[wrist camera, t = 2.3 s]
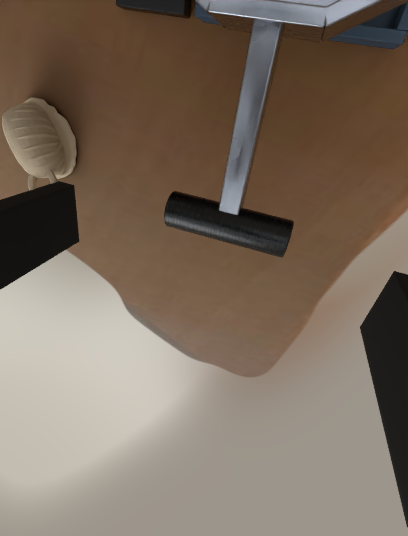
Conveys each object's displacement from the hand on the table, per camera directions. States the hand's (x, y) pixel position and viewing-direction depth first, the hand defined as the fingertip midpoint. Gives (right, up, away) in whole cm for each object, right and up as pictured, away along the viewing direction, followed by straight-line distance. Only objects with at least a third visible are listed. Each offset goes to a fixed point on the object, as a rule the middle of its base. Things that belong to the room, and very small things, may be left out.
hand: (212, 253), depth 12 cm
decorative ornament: (-14, +11, +16) cm, 24 cm away
